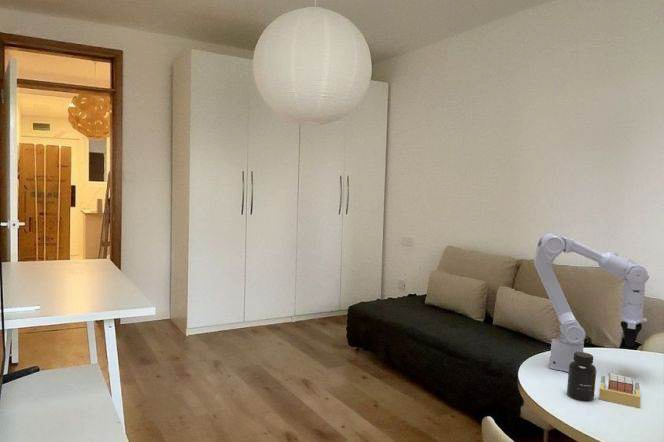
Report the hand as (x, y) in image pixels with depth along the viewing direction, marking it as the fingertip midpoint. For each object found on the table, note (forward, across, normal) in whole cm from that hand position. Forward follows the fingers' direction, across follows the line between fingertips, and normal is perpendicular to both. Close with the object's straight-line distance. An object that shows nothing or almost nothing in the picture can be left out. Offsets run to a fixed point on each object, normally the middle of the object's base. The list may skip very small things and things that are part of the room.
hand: (629, 346), depth 153 cm
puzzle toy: (+10, -21, +2) cm, 23 cm away
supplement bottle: (+10, -26, +11) cm, 30 cm away
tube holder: (+9, -18, +2) cm, 20 cm away
